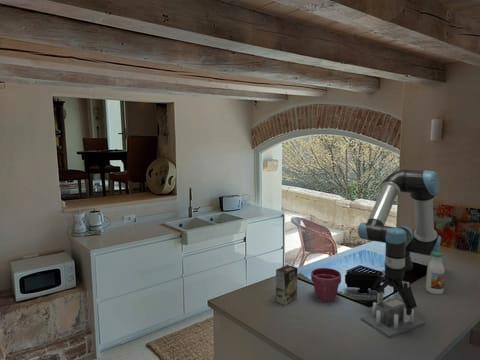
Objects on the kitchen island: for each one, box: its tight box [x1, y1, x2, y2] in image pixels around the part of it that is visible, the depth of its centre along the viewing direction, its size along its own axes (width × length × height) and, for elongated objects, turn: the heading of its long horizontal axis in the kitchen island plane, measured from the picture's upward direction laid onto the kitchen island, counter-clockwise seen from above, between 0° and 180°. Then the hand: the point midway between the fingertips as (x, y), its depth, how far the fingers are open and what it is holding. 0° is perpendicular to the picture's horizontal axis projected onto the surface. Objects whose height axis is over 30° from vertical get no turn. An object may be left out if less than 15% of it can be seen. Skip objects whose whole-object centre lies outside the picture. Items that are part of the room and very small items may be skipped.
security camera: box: [344, 270, 385, 295], centre depth 173 cm, size 7×18×10 cm, turn 78°
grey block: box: [377, 297, 406, 327], centre depth 146 cm, size 12×6×7 cm, turn 116°
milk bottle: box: [425, 251, 446, 295], centre depth 172 cm, size 8×8×20 cm
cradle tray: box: [360, 297, 426, 339], centre depth 147 cm, size 21×15×7 cm
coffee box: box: [275, 264, 298, 306], centre depth 167 cm, size 9×6×16 cm
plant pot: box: [310, 267, 342, 303], centre depth 168 cm, size 14×14×13 cm
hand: (392, 313), depth 146 cm, fingers open, 13 cm apart
